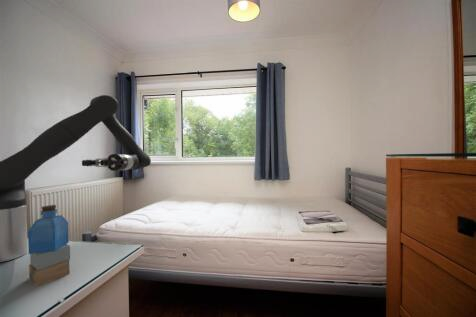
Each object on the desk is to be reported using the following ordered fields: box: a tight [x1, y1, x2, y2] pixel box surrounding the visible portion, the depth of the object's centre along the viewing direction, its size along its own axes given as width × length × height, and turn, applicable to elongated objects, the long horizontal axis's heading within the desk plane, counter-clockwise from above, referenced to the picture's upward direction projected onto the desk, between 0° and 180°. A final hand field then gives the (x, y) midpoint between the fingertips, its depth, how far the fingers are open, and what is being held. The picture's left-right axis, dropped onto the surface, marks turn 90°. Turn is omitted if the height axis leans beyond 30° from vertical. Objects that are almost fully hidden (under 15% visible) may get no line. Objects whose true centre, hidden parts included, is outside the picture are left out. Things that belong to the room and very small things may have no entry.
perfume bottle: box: [27, 204, 70, 255], centre depth 59 cm, size 6×6×12 cm
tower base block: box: [28, 260, 70, 287], centre depth 59 cm, size 7×7×4 cm
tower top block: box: [29, 243, 71, 270], centre depth 59 cm, size 7×7×4 cm
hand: (93, 162), depth 77 cm, fingers open, 8 cm apart
